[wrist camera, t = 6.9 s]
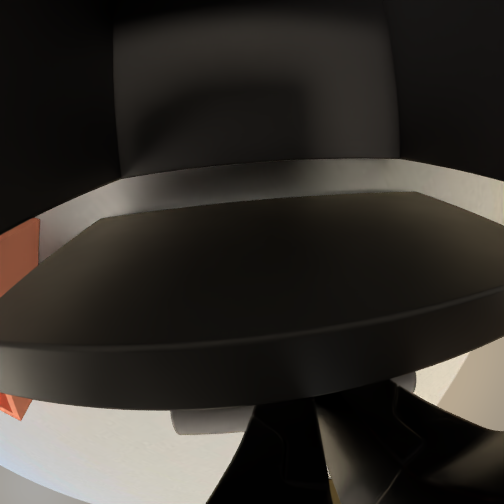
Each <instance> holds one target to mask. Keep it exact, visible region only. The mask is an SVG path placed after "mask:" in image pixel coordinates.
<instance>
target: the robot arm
mask: <svg viewBox="0 0 504 504" xmlns="http://www.w3.org/2000/svg"><path fill="white" fill-rule="evenodd" d="M326 465H327V466H326ZM327 467H328V470H329V473H330V475H331V478H332V481H333V484H334V486H335V489H336V492H337V494H338V497H339V500H340V502H341V504H504V431H494V430H490V429H486V428H484V427H481V426H479V425H477V424H474V423H472V422H470V421H468V420H465V419H463V418H461V417H459V416H456V415H454V414H452V413H450V412H447V411H445V410H443V409H441V408H439V407H437V406H435V405H433V404H431V403H429V402H427V401H425V400H424V399H422V398H420V397H418V396H417V395H415V394H413V393H411V392H410V391H408V390H407V389H405V388H403V387H402V386H400V385H399V386H397V383H395V382H394V381H392V380H390V379H388V380H384V381H381V382H377V383H373V384H369V385H365V386H361V387H357V388H353V389H348V390H344V391H339V392H335V393H330V394H325V395H320V396H314V397H309V398H303V399H297V400H291V401H284V402H277V403H269V404H261V405H254V408H253V411H252V416H251V417H250V420H249V423H248V425H247V428H246V431H245V433H244V436H243V438H242V441H241V443H240V445H239V447H238V449H237V451H236V453H235V455H234V457H233V459H232V461H231V463H230V464H229V466H228V468H227V469H226V471H225V473H224V475H223V476H222V478H221V480H220V481H219V483H218V485H217V486H216V488H215V489H214V491H213V493H212V494H211V496H210V497H209V499H208V501H207V502H206V504H333V501H332V496H331V491H330V484H329V478H328V472H327Z"/></svg>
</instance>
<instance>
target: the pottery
mask: <svg viewBox="0 0 504 504" xmlns="http://www.w3.org/2000/svg"><path fill="white" fill-rule="evenodd" d="M39 224H40V219H37V218H32V219H30V220H28V221H26V222H24V223H22V224H20V225H18V226H16V227H14V228H13V229H11V230H9V231H7V232H5V233H3V234H2V235H0V297H2V296H3V295H4V294H5V293H6V292H7V291H8V290H9V289H11V288H12V287H13V286H14V285H15V284H16V283H18V282H19V281H20V280H21V279H22V278H23V277H25V276H26V275H27V274H28V273H29V272H31V271H32V270H33V269H34V268H35V267H37V266H38V249H39ZM32 400H33V399H28V398H23V397H18V396H13V395H8V394H4V393H0V410H1V411H3V412H5V413H6V414H8V415H10V416H12V417H14V418H16V419H18V420H20V421H21V420H22V418H23V416H24V415H25V413H26V411H27V409H28V407H29V405H30V403H31V402H32Z"/></svg>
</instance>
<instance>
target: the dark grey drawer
mask: <svg viewBox="0 0 504 504" xmlns="http://www.w3.org/2000/svg"><path fill="white" fill-rule="evenodd" d="M341 158H377V159H403V160H409V161H415V162H421V163H426V164H431V165H436V166H441V167H446V168H451V169H455V170H460V171H464V172H469V173H473V174H477V175H481V176H485V177H489V178H493V179H496V180H500V181H504V0H0V235H2V234H3V233H5V232H7V231H9V230H11V229H13V228H14V227H16V226H18V225H20V224H22V223H24V222H26V221H28V220H30V219H32V218H34V217H36V216H38V215H40V214H42V213H44V212H46V211H48V210H50V209H52V208H54V207H56V206H59V205H61V204H63V203H65V202H67V201H69V200H72V199H74V198H76V197H78V196H81V195H83V194H85V193H88V192H90V191H92V190H95V189H97V188H100V187H102V186H104V185H107V184H109V183H112V182H114V181H117V180H119V179H124V178H130V177H136V176H142V175H148V174H155V173H162V172H169V171H176V170H184V169H192V168H201V167H210V166H219V165H229V164H241V163H253V162H267V161H283V160H304V159H341ZM502 337H504V226H503V225H501V224H499V223H496V222H494V221H492V220H489V219H487V218H484V217H482V216H480V215H477V214H475V213H472V212H470V211H467V210H465V209H462V208H460V207H457V206H454V205H452V204H449V203H446V202H444V201H441V200H438V199H435V198H433V197H430V196H427V195H424V194H421V193H418V192H380V193H355V194H334V195H317V196H302V197H287V198H274V199H262V200H251V201H240V202H229V203H219V204H210V205H200V206H191V207H183V208H174V209H166V210H158V211H151V212H143V213H136V214H129V215H122V216H115V217H108V218H102V219H100V220H98V221H97V222H95V223H94V224H92V225H91V226H90V227H88V228H87V229H85V230H84V231H83V232H81V233H80V234H78V235H77V236H76V237H74V238H73V239H72V240H70V241H69V242H68V243H66V244H65V245H64V246H62V247H61V248H60V249H58V250H57V251H56V252H54V253H53V254H52V255H51V256H49V257H48V258H47V259H45V260H44V261H43V262H42V263H40V264H39V265H38V266H37V267H35V268H34V269H33V270H32V271H31V272H29V273H28V274H27V275H26V276H25V277H23V278H22V279H21V280H20V281H19V282H18V283H16V284H15V285H14V286H13V287H12V288H11V289H9V290H8V291H7V292H6V293H5V294H4V295H3V296H2V297H0V393H4V394H8V395H13V396H18V397H23V398H28V399H33V400H39V401H45V402H52V403H58V404H66V405H74V406H83V407H93V408H106V409H122V410H170V412H171V419H172V424H173V427H174V429H175V431H176V433H177V434H179V435H200V434H221V433H234V432H245V431H246V428H247V425H248V423H249V420H250V417H251V416H252V411H253V408H254V405H261V404H269V403H277V402H284V401H291V400H297V399H303V398H309V397H314V396H320V395H325V394H330V393H335V392H339V391H344V390H348V389H353V388H357V387H361V386H365V385H369V384H373V383H377V382H381V381H384V380H388V379H390V380H392V381H394V382H395V383H397V386H399V385H400V386H402V387H403V388H405V389H407V390H408V391H410V392H411V393H413V392H414V390H415V387H416V373H415V371H418V370H421V369H424V368H427V367H430V366H433V365H435V364H438V363H441V362H444V361H447V360H449V359H452V358H455V357H457V356H460V355H462V354H465V353H467V352H470V351H472V350H475V349H477V348H479V347H482V346H484V345H486V344H488V343H491V342H493V341H495V340H497V339H499V338H502Z"/></svg>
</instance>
